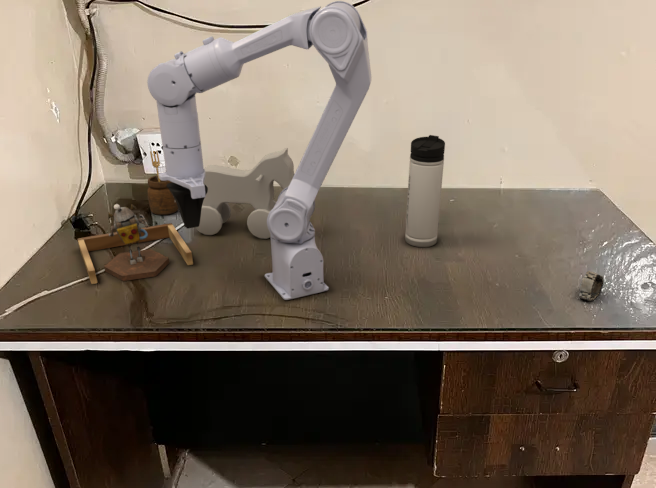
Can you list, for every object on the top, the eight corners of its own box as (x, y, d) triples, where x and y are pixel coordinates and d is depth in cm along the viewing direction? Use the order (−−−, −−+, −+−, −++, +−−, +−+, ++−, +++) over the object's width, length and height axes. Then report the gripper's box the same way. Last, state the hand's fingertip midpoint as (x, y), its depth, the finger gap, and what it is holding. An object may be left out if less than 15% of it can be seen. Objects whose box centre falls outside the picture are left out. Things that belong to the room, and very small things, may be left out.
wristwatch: (595, 306, 104) (605, 279, 104) (587, 296, 100) (598, 268, 100) (577, 302, 106) (588, 275, 106) (569, 291, 102) (580, 264, 102)
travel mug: (441, 237, 123) (450, 137, 113) (430, 250, 118) (439, 146, 108) (412, 231, 126) (418, 132, 116) (400, 243, 120) (405, 141, 110)
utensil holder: (153, 217, 129) (144, 160, 123) (147, 207, 133) (138, 152, 127) (182, 213, 131) (174, 157, 125) (175, 203, 136) (168, 149, 130)
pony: (301, 224, 128) (299, 142, 119) (291, 245, 119) (288, 158, 110) (206, 218, 129) (197, 137, 121) (189, 238, 120) (178, 152, 112)
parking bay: (193, 264, 110) (191, 251, 109) (91, 284, 103) (88, 271, 102) (173, 234, 121) (171, 222, 120) (79, 250, 114) (77, 238, 113)
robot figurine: (168, 251, 115) (159, 189, 109) (174, 273, 107) (164, 208, 101) (104, 260, 111) (91, 196, 105) (105, 283, 104) (91, 216, 98)
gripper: (144, 135, 99) (157, 214, 106) (166, 160, 88) (178, 247, 95) (189, 130, 102) (198, 208, 109) (215, 154, 91) (223, 239, 98)
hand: (191, 226), depth 102 cm, fingers closed
